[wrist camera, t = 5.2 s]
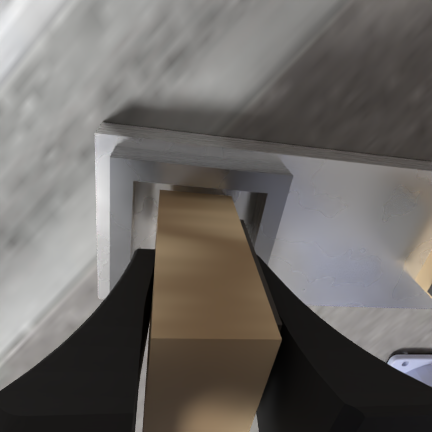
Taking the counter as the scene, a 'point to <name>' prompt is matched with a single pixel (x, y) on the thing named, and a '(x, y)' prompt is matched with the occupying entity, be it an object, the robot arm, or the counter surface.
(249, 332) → the block
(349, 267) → the rail
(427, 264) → the fixed finger
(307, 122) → the counter surface
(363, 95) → the counter surface
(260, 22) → the counter surface
